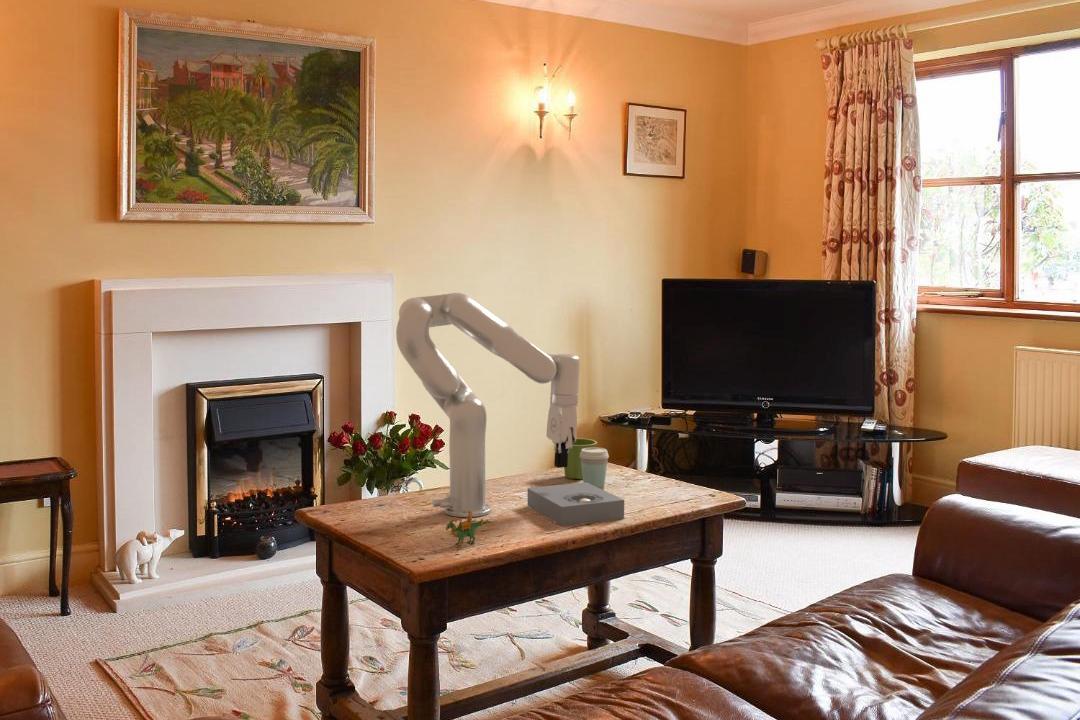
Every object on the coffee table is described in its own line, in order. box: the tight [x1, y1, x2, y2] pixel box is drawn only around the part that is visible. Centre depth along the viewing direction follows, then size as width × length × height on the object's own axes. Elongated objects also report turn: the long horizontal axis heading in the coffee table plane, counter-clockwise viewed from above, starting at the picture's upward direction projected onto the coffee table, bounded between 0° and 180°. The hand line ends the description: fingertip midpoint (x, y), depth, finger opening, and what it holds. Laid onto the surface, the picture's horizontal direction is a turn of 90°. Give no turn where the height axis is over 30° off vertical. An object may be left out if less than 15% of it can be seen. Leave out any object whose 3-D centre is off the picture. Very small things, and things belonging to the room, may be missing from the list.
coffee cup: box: [580, 446, 610, 491], centre depth 294 cm, size 8×9×12 cm
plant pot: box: [563, 437, 598, 480], centre depth 311 cm, size 12×12×11 cm
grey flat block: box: [527, 481, 625, 527], centre depth 270 cm, size 18×22×5 cm
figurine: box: [445, 510, 492, 547], centre depth 241 cm, size 3×12×8 cm, turn 118°
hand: (560, 466), depth 274 cm, fingers closed
